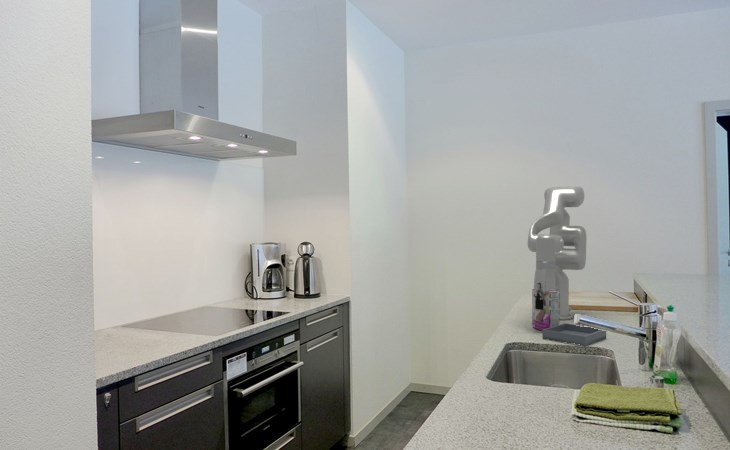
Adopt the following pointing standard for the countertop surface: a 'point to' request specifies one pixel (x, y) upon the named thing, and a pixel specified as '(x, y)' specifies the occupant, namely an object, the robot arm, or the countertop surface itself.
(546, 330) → the tray
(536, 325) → the candy bar box
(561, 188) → the robot arm
